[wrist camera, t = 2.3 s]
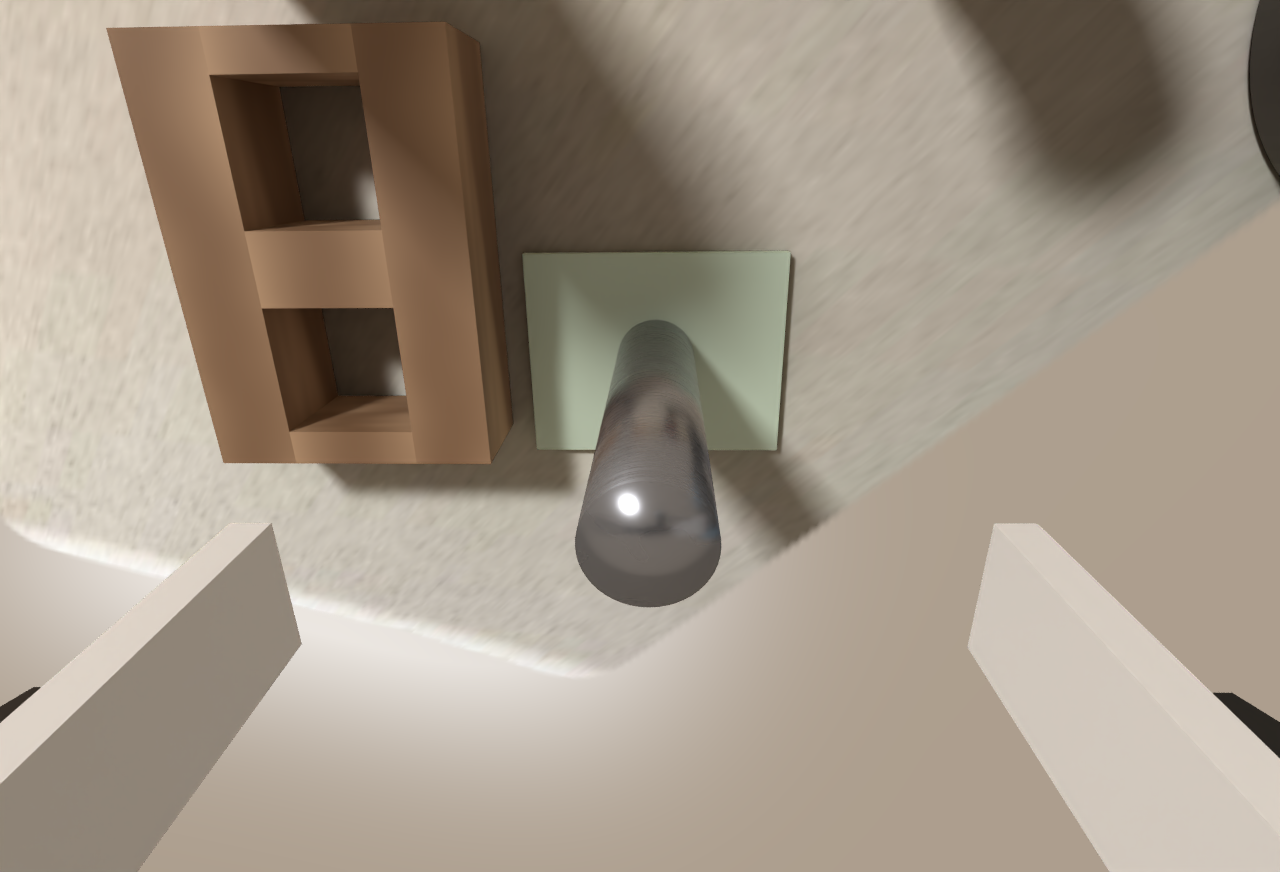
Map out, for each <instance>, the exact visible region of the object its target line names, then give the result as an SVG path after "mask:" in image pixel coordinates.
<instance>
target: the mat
mask: <svg viewBox="0 0 1280 872" xmlns="http://www.w3.org/2000/svg"><path fill="white" fill-rule="evenodd" d="M790 255H791V252H790V251H699V252H558V253H523V254H522V258H523V272H524V285H525V298H526V311H527V325H528V338H529V351H530V364H531V378H532V391H533V404H534V417H535V431H536V444H537V450H595V449H596V445H597V440H598V436H599V432H600V427H601V423H602V419H603V414H604V410H605V406H606V401H607V397H608V393H609V388H610V384H611V380H612V376H613V371H614V367H615V363H616V358H617V354H618V350H619V346H620V343H621V341H622V339H623V337H624V336H625V334H626V333H627V332H628V331H629V330H630V329H631V328H632V327H634V326H635V325H637V324H639V323H641V322H644V321H648V320H664V321H667V322H670V323H673V324H675V325H676V326H678V327H679V328H680V329H682V330H683V331H684V332H685V334H686V335H687V336H688V338H689V339H690V342H691V344H692V347H693V352H694V358H695V365H696V372H697V379H698V386H699V393H700V399H701V406H702V413H703V420H704V427H705V434H706V441H707V447H708V450H777V437H778V423H779V409H780V395H781V381H782V367H783V353H784V339H785V325H786V311H787V297H788V283H789V269H790Z"/></svg>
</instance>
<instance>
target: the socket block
mask: <svg viewBox="0 0 1280 872" xmlns="http://www.w3.org/2000/svg"><path fill="white" fill-rule="evenodd" d="M106 29H107V32H108V36H109V40H110V43H111V47H112V51H113V55H114V58H115V62H116V66H117V69H118V73H119V77H120V81H121V84H122V88H123V92H124V95H125V99H126V103H127V106H128V110H129V114H130V118H131V121H132V125H133V129H134V132H135V136H136V140H137V144H138V147H139V151H140V155H141V158H142V162H143V166H144V169H145V173H146V177H147V181H148V184H149V188H150V192H151V195H152V199H153V203H154V207H155V210H156V214H157V218H158V221H159V225H160V229H161V232H162V236H163V240H164V244H165V247H166V251H167V255H168V258H169V262H170V266H171V270H172V273H173V277H174V281H175V284H176V288H177V292H178V295H179V299H180V303H181V307H182V310H183V314H184V318H185V321H186V325H187V329H188V333H189V336H190V340H191V344H192V347H193V351H194V355H195V358H196V362H197V366H198V370H199V373H200V377H201V381H202V384H203V388H204V392H205V396H206V399H207V403H208V407H209V410H210V414H211V418H212V422H213V425H214V429H215V433H216V436H217V440H218V444H219V447H220V451H221V455H222V459H223V462H224V463H366V464H491V463H492V461H493V459H494V458H495V456H496V454H497V452H498V450H499V449H500V447H501V445H502V443H503V441H504V440H505V438H506V436H507V434H508V432H509V431H510V429H511V427H512V425H513V415H512V404H511V393H510V381H509V370H508V359H507V347H506V336H505V325H504V314H503V302H502V291H501V280H500V268H499V257H498V246H497V234H496V223H495V212H494V201H493V189H492V178H491V167H490V155H489V144H488V133H487V121H486V110H485V99H484V88H483V76H482V65H481V54H480V43H479V42H478V41H476V40H474V39H473V38H471V37H469V36H468V35H466V34H464V33H463V32H461V31H459V30H458V29H456V28H454V27H453V26H451V25H449V24H448V23H446V22H399V23H346V24H293V25H240V26H187V27H134V28H106ZM299 86H360V90H361V97H362V103H363V110H364V117H365V123H366V130H367V137H368V143H369V150H370V157H371V163H372V170H373V177H374V183H375V190H376V196H377V203H378V210H379V216H380V220H304V214H303V209H302V204H301V199H300V193H299V188H298V183H297V178H296V173H295V167H294V162H293V157H292V152H291V146H290V141H289V136H288V131H287V125H286V120H285V115H284V110H283V105H282V99H281V94H280V89H279V87H299ZM321 308H393V309H394V316H395V323H396V329H397V336H398V343H399V349H400V356H401V363H402V369H403V376H404V383H405V389H406V396H338V392H337V387H336V382H335V377H334V371H333V366H332V361H331V356H330V351H329V345H328V340H327V335H326V330H325V324H324V319H323V314H322V309H321Z"/></svg>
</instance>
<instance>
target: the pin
mask: <svg viewBox="0 0 1280 872" xmlns="http://www.w3.org/2000/svg"><path fill="white" fill-rule="evenodd" d="M575 549H576V555H577V559H578V562H579V565H580V567H581V569H582V571H583V572H584V574H585V576H586V577H587V578H588V580H589V581H590V582H591V583H592V584H593V585H594V586H595V587H596V588H597V589H598V590H600V591H601V592H602V593H604V594H605V595H607V596H609V597H610V598H612V599H614V600H617V601H619V602H621V603H625V604H628V605H633V606H638V607H660V606H666V605H670V604H674V603H677V602H679V601H682V600H684V599H686V598H688V597H690V596H692V595H693V594H694V593H696V592H697V591H699V590H700V589H701V588H702V587H703V586H704V585H705V584H706V583H707V582H708V580H709V579H710V578H711V576H712V575H713V573H714V572H715V570H716V567H717V565H718V562H719V559H720V554H721V536H720V529H719V523H718V516H717V509H716V502H715V495H714V488H713V482H712V475H711V468H710V461H709V454H708V447H707V441H706V434H705V427H704V420H703V413H702V406H701V399H700V393H699V386H698V379H697V372H696V365H695V358H694V352H693V347H692V344H691V342H690V339H689V338H688V336H687V335H686V334H685V332H684V331H683V330H682V329H680V328H679V327H678V326H676V325H675V324H673V323H670V322H667V321H664V320H648V321H644V322H641V323H639V324H637V325H635V326H634V327H632V328H631V329H630V330H629V331H628V332H627V333H626V334H625V336H624V337H623V339H622V341H621V343H620V346H619V350H618V354H617V358H616V363H615V367H614V371H613V376H612V380H611V384H610V388H609V393H608V397H607V401H606V406H605V410H604V414H603V419H602V423H601V427H600V432H599V436H598V440H597V445H596V449H595V453H594V458H593V462H592V466H591V471H590V475H589V479H588V484H587V488H586V492H585V497H584V501H583V505H582V509H581V514H580V518H579V522H578V527H577V531H576V537H575Z"/></svg>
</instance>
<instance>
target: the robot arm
mask: <svg viewBox="0 0 1280 872" xmlns="http://www.w3.org/2000/svg"><path fill="white" fill-rule="evenodd" d="M1250 89H1251V99H1252V107H1253V112H1254V117H1255V122H1256V125H1257V129H1258V132H1259V136H1260V139H1261V141H1262V144H1263V146H1264V149H1265V151H1266V153H1267V155H1268V157H1269V159H1270V161H1271V163H1272V165H1273V166H1274V168H1275V169H1276V171H1277V172H1278V174H1279V175H1280V0H1260V2H1259V6H1258V10H1257V15H1256V20H1255V25H1254V30H1253V38H1252V46H1251V58H1250ZM301 644H302V643H301V640H300V635H299V631H298V627H297V623H296V619H295V615H294V612H293V607H292V603H291V599H290V595H289V591H288V587H287V583H286V579H285V575H284V571H283V567H282V563H281V559H280V555H279V551H278V547H277V543H276V539H275V535H274V531H273V527H272V523H230V524H228V525H227V526H226V527H225V528H224V529H223V530H222V531H220V532H219V533H218V534H217V535H216V536H215V537H214V538H212V539H211V540H210V541H209V542H208V543H207V544H205V545H204V546H203V547H202V548H201V549H200V550H199V551H197V552H196V553H195V554H194V555H193V556H192V557H191V558H189V559H188V560H187V561H186V562H185V563H184V564H182V565H181V566H180V567H179V568H178V569H177V570H176V571H174V572H173V573H172V574H171V575H170V576H169V577H168V578H166V579H165V580H164V581H163V582H162V583H161V584H159V585H158V586H157V587H156V588H155V589H154V590H153V591H151V592H150V593H149V594H148V595H147V596H146V597H145V598H143V599H142V600H141V601H140V602H139V603H138V604H136V605H135V606H134V607H133V608H132V609H131V610H130V611H129V612H127V613H126V614H125V615H124V616H123V617H122V618H120V619H119V620H118V621H117V622H116V623H115V624H113V625H112V626H111V627H110V628H109V629H108V630H107V631H105V632H104V633H103V634H102V635H101V636H100V637H99V638H97V640H95V641H94V642H93V643H92V644H90V645H89V646H88V647H87V648H86V649H85V650H84V651H82V652H81V653H80V654H79V655H78V656H77V657H76V658H74V659H73V660H72V661H71V662H70V663H69V664H67V665H66V666H65V667H64V668H63V669H62V670H61V671H60V672H58V673H57V674H56V675H55V676H54V677H53V678H51V679H50V680H49V681H48V682H47V683H46V684H44V685H43V686H42V687H33V688H31V689H30V690H28V691H26V692H24V693H23V694H21V695H19V696H18V697H16V698H14V699H13V700H11V701H9V702H8V703H6V704H4V705H2V706H1V707H0V872H137V871H138V870H139V869H140V867H141V866H142V865H143V863H144V862H145V860H146V859H147V858H148V856H149V855H150V853H151V852H152V851H153V849H154V848H155V846H156V845H157V843H158V842H159V841H160V840H161V838H162V837H163V835H164V834H165V833H166V831H167V830H168V828H169V827H170V826H171V824H172V823H173V822H174V820H175V819H176V817H177V816H178V815H179V813H180V812H181V810H182V809H183V808H184V806H185V805H186V803H187V802H188V801H189V799H190V798H191V797H192V795H193V794H194V792H195V791H196V790H197V788H198V787H199V786H200V784H201V783H202V781H203V780H204V779H205V777H206V775H207V774H208V773H209V772H210V770H211V769H212V768H213V766H214V765H215V763H216V762H217V761H218V759H219V758H220V756H221V755H222V754H223V752H224V751H225V749H226V748H227V747H228V745H229V744H230V743H231V741H232V740H233V738H234V737H235V736H236V734H237V733H238V731H239V730H240V729H241V727H242V725H244V723H245V722H246V720H247V719H248V718H249V716H250V715H251V713H252V712H253V711H254V709H255V708H256V706H257V705H258V704H259V702H260V701H261V700H262V698H263V697H264V695H265V694H266V693H267V691H268V690H269V688H270V687H271V686H272V684H273V683H274V682H275V680H276V679H277V677H278V676H279V675H280V673H281V672H282V670H283V669H284V668H285V666H286V665H287V664H288V662H289V661H290V659H291V658H292V656H293V655H294V654H295V652H296V651H297V650H298V648H299V647H300V645H301ZM968 649H969V650H970V652H971V653H972V655H973V657H974V658H975V660H976V661H977V663H978V664H979V666H980V668H981V669H982V671H983V672H984V674H985V676H986V677H987V679H988V680H989V682H990V684H991V685H992V687H993V688H994V690H995V692H996V693H997V695H998V696H999V698H1000V699H1001V701H1002V703H1003V704H1004V706H1005V707H1006V709H1007V711H1008V712H1009V713H1010V715H1011V717H1012V719H1013V720H1014V722H1015V723H1016V725H1017V726H1018V728H1019V730H1020V731H1021V733H1022V734H1023V736H1024V738H1025V739H1026V740H1027V742H1028V744H1029V745H1030V747H1031V749H1032V750H1033V752H1034V753H1035V755H1036V756H1037V758H1038V760H1039V761H1040V763H1041V764H1042V766H1043V768H1044V769H1045V771H1046V772H1047V774H1048V776H1049V777H1050V779H1051V780H1052V782H1053V783H1054V785H1055V787H1056V788H1057V790H1058V791H1059V793H1060V794H1061V796H1062V798H1063V799H1064V801H1065V802H1066V804H1067V806H1068V807H1069V809H1070V810H1071V812H1072V814H1073V815H1074V817H1075V818H1076V820H1077V822H1078V823H1079V825H1080V826H1081V828H1082V829H1083V831H1084V832H1085V834H1086V836H1087V837H1088V839H1089V841H1090V842H1091V844H1092V845H1093V847H1094V848H1095V850H1096V852H1097V853H1098V855H1099V856H1100V858H1101V859H1102V861H1103V863H1104V864H1105V866H1106V867H1107V869H1108V871H1109V872H1280V722H1278V721H1277V720H1275V719H1274V718H1272V717H1270V716H1269V715H1267V714H1266V713H1264V712H1262V711H1260V710H1259V709H1257V708H1256V707H1254V706H1253V705H1251V704H1249V703H1248V702H1246V701H1244V700H1243V699H1241V698H1240V697H1238V696H1236V695H1235V694H1233V693H1212V692H1211V691H1210V690H1209V689H1208V688H1206V687H1205V686H1204V685H1203V684H1202V683H1201V682H1200V681H1199V680H1198V679H1197V678H1196V677H1195V676H1194V675H1193V674H1192V673H1191V672H1190V671H1189V670H1188V669H1187V668H1186V667H1185V666H1184V665H1183V664H1182V663H1181V662H1180V661H1179V660H1178V659H1176V657H1174V655H1172V654H1171V653H1170V652H1169V651H1168V650H1167V649H1166V648H1165V647H1164V646H1163V645H1162V644H1161V643H1160V642H1159V641H1158V640H1157V639H1156V638H1155V637H1154V636H1153V635H1152V634H1151V633H1150V632H1149V631H1148V630H1147V629H1146V628H1144V626H1143V625H1142V624H1140V623H1139V622H1138V621H1137V620H1136V619H1135V618H1134V617H1133V616H1132V615H1131V614H1130V613H1129V612H1128V611H1127V610H1126V609H1125V608H1124V607H1123V606H1122V605H1121V604H1120V603H1119V602H1118V601H1117V600H1116V599H1115V598H1114V597H1113V596H1112V595H1111V594H1110V593H1109V592H1107V590H1105V589H1104V588H1103V587H1102V586H1101V585H1100V584H1099V583H1098V582H1097V581H1096V580H1095V579H1094V578H1093V577H1092V576H1091V575H1090V574H1089V573H1088V572H1087V571H1086V570H1085V569H1084V568H1083V567H1082V566H1081V565H1080V564H1079V563H1078V562H1077V561H1076V560H1075V559H1074V558H1072V557H1071V556H1070V555H1069V554H1068V553H1067V552H1066V551H1065V550H1064V549H1063V548H1062V547H1061V546H1060V545H1059V544H1058V543H1057V542H1056V541H1055V540H1054V539H1053V538H1052V537H1051V536H1050V535H1049V534H1048V533H1047V532H1046V531H1044V529H1042V528H1041V526H1039V525H1038V524H994V527H993V532H992V536H991V541H990V545H989V550H988V555H987V559H986V564H985V569H984V574H983V578H982V583H981V588H980V592H979V597H978V602H977V606H976V610H975V615H974V620H973V624H972V629H971V634H970V638H969V643H968Z"/></svg>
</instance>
